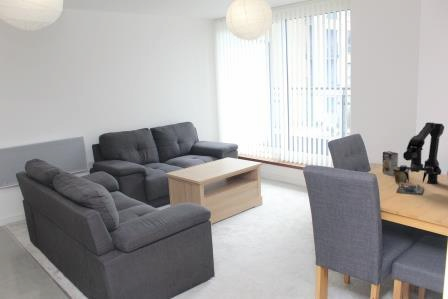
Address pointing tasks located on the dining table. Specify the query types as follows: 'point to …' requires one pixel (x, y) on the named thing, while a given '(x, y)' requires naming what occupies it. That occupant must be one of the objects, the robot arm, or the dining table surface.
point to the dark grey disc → (408, 185)
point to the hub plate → (417, 190)
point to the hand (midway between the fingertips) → (415, 182)
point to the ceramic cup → (399, 175)
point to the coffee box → (389, 162)
